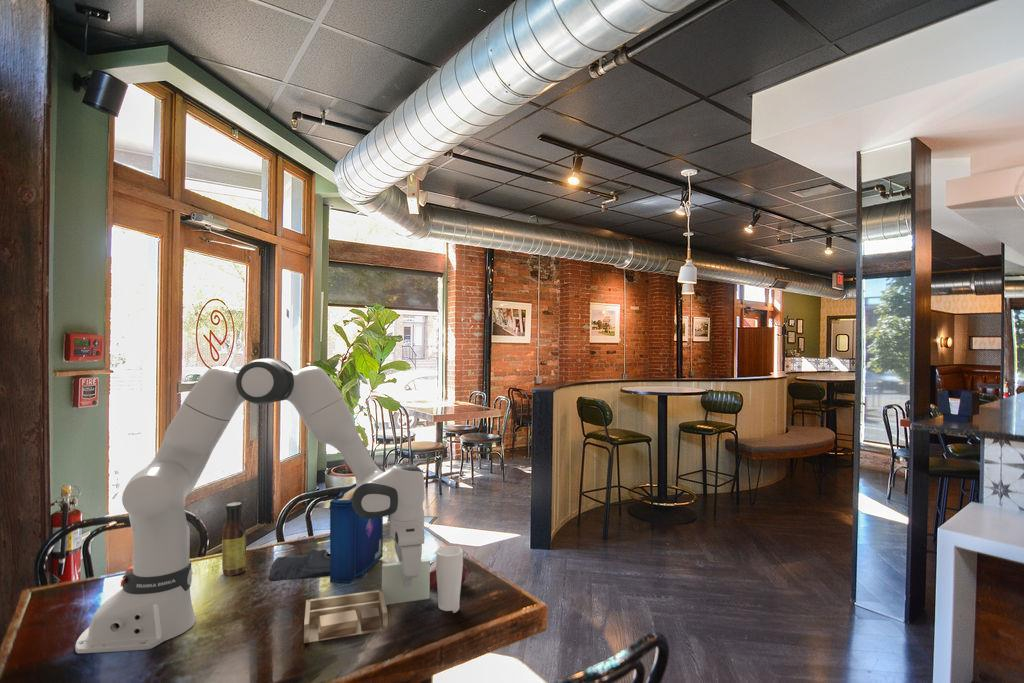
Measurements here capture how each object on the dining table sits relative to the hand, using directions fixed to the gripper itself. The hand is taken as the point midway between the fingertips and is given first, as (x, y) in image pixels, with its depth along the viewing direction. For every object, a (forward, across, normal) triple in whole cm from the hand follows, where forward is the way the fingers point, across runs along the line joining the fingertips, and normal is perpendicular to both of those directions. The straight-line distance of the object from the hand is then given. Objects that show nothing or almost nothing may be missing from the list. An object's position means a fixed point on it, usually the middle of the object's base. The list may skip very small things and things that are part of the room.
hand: (405, 580), depth 136 cm
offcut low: (+5, +10, -17) cm, 20 cm away
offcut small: (+5, +10, -10) cm, 15 cm away
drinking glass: (+6, +6, +10) cm, 13 cm away
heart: (+6, -8, +12) cm, 16 cm away
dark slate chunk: (+7, -32, -24) cm, 40 cm away
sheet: (+6, 0, 0) cm, 6 cm away
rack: (+6, +7, -15) cm, 18 cm away
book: (+6, -24, -11) cm, 27 cm away
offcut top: (+4, +10, -17) cm, 20 cm away
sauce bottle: (+6, -35, -45) cm, 57 cm away
